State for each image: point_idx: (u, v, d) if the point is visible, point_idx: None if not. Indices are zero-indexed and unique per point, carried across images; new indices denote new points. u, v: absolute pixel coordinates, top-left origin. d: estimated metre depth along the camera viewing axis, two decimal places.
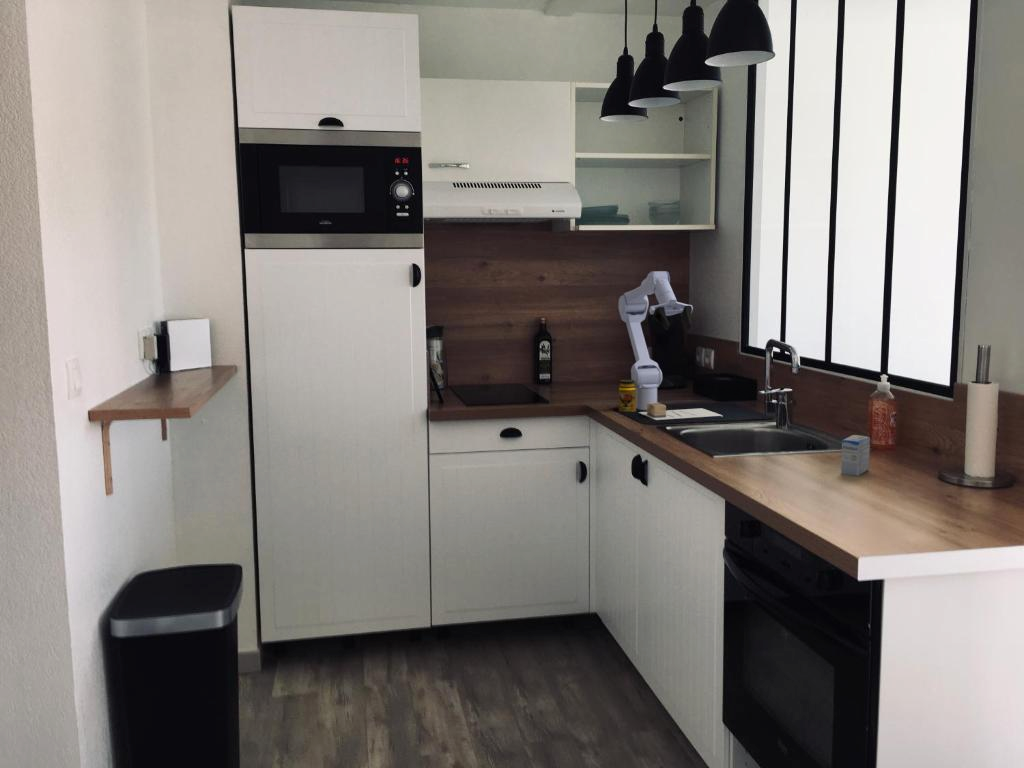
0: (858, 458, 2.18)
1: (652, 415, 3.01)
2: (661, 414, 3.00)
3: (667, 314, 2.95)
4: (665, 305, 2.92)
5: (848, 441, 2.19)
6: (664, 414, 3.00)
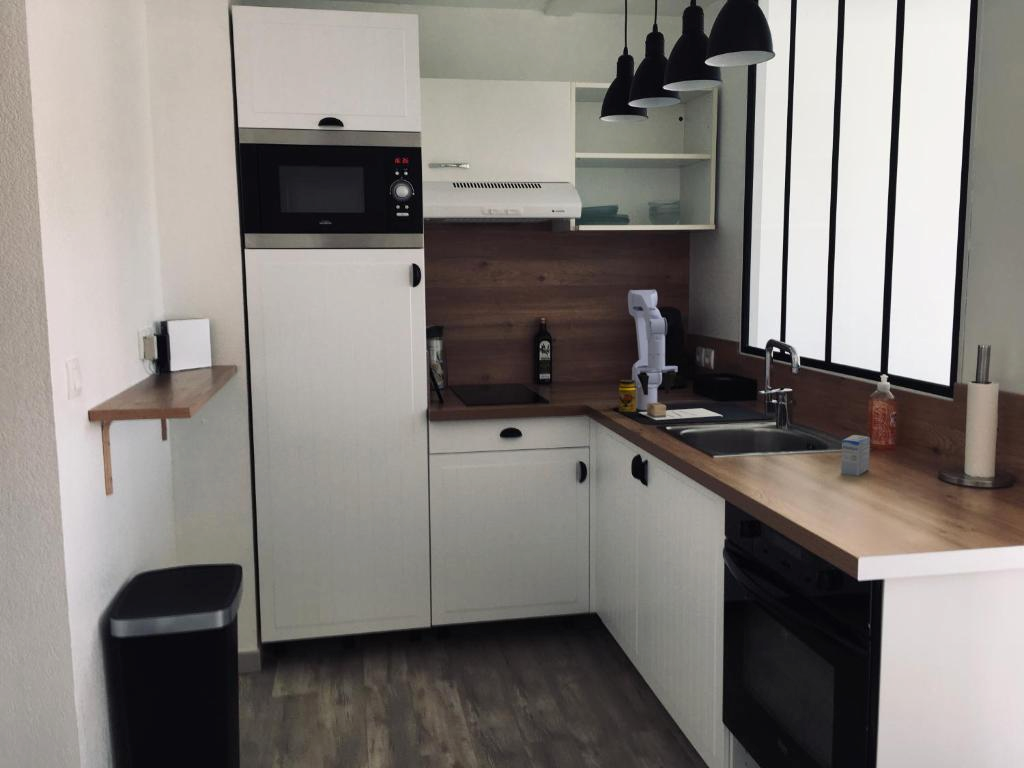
0: (858, 458, 2.18)
1: (652, 415, 3.01)
2: (661, 414, 3.00)
3: None
4: None
5: (849, 441, 2.19)
6: (664, 414, 3.00)
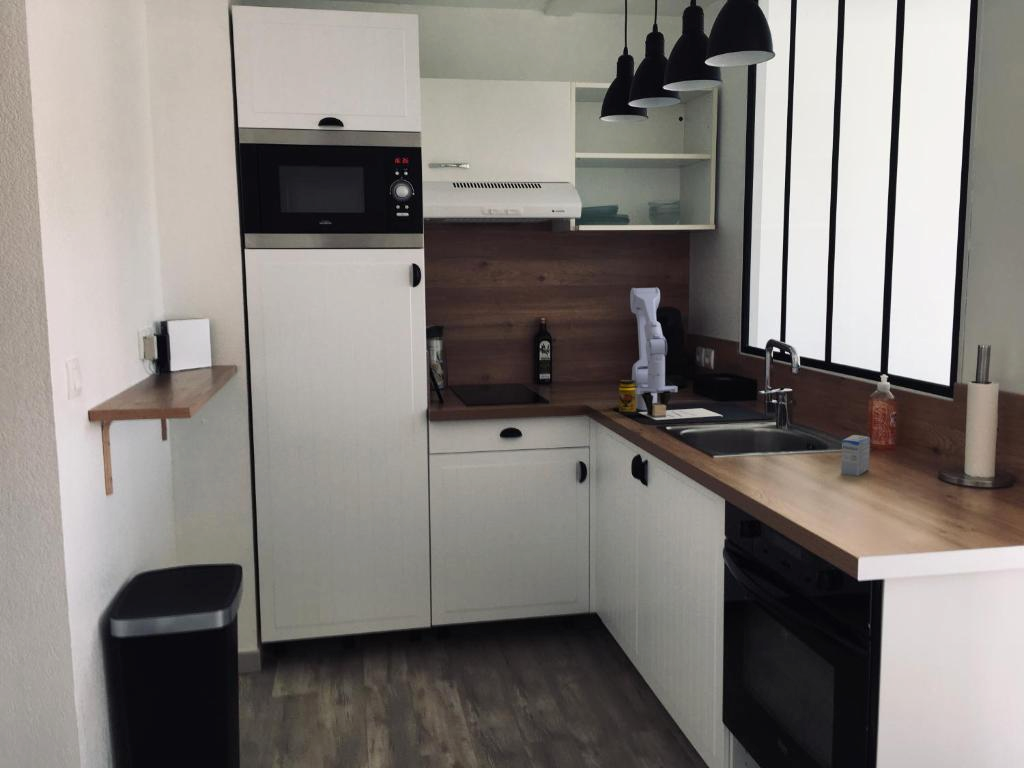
0: (858, 458, 2.18)
1: (652, 415, 3.01)
2: (661, 414, 3.00)
3: None
4: (651, 390, 3.00)
5: (849, 441, 2.19)
6: (664, 414, 3.00)
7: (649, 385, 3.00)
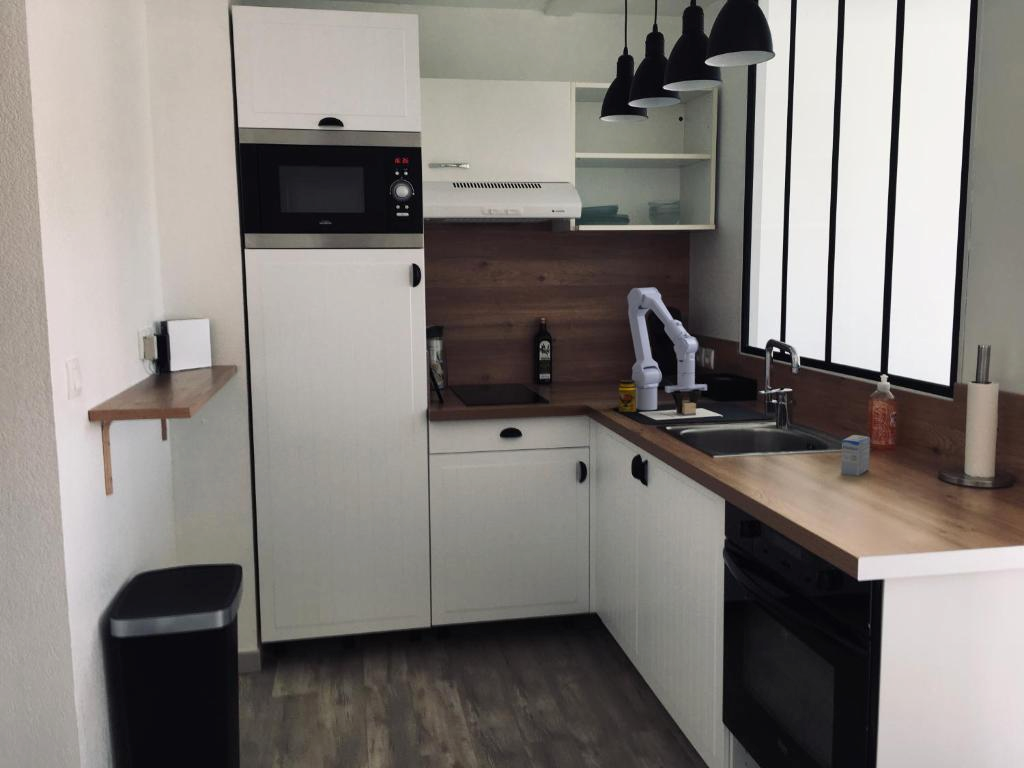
0: (858, 458, 2.18)
1: (682, 413, 3.04)
2: (691, 412, 3.02)
3: None
4: (681, 388, 3.02)
5: (849, 441, 2.19)
6: (694, 412, 3.02)
7: (679, 383, 3.03)
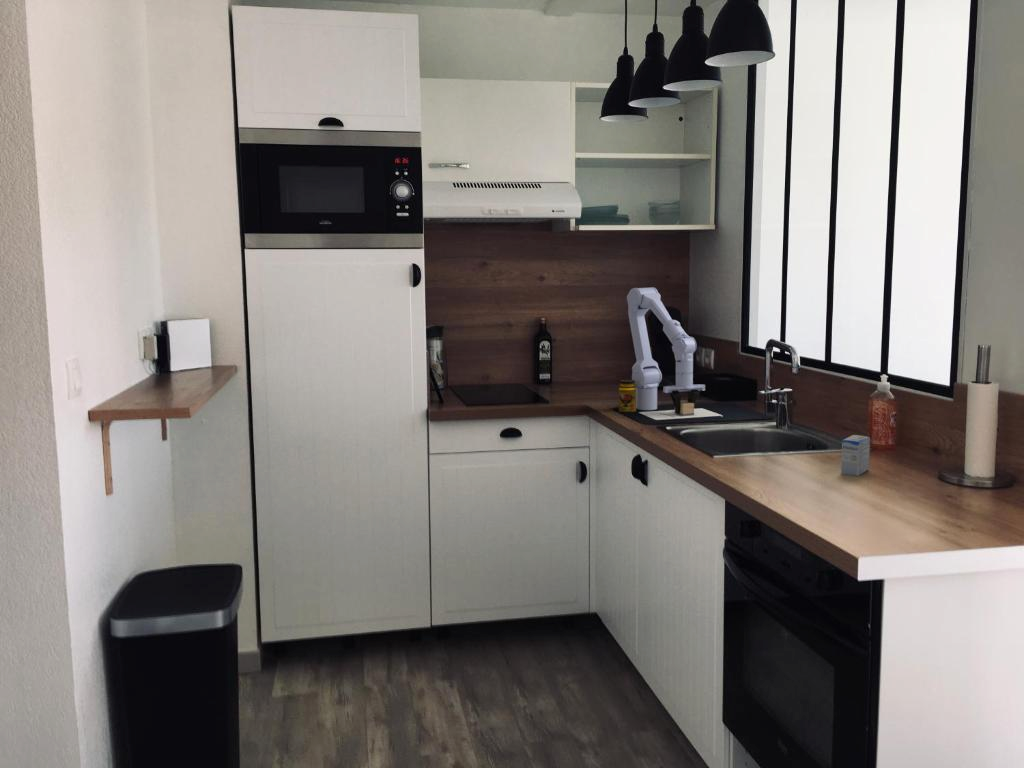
0: (858, 458, 2.18)
1: (680, 413, 3.04)
2: (689, 412, 3.02)
3: None
4: (679, 389, 3.02)
5: (849, 441, 2.19)
6: (692, 412, 3.02)
7: (677, 383, 3.03)
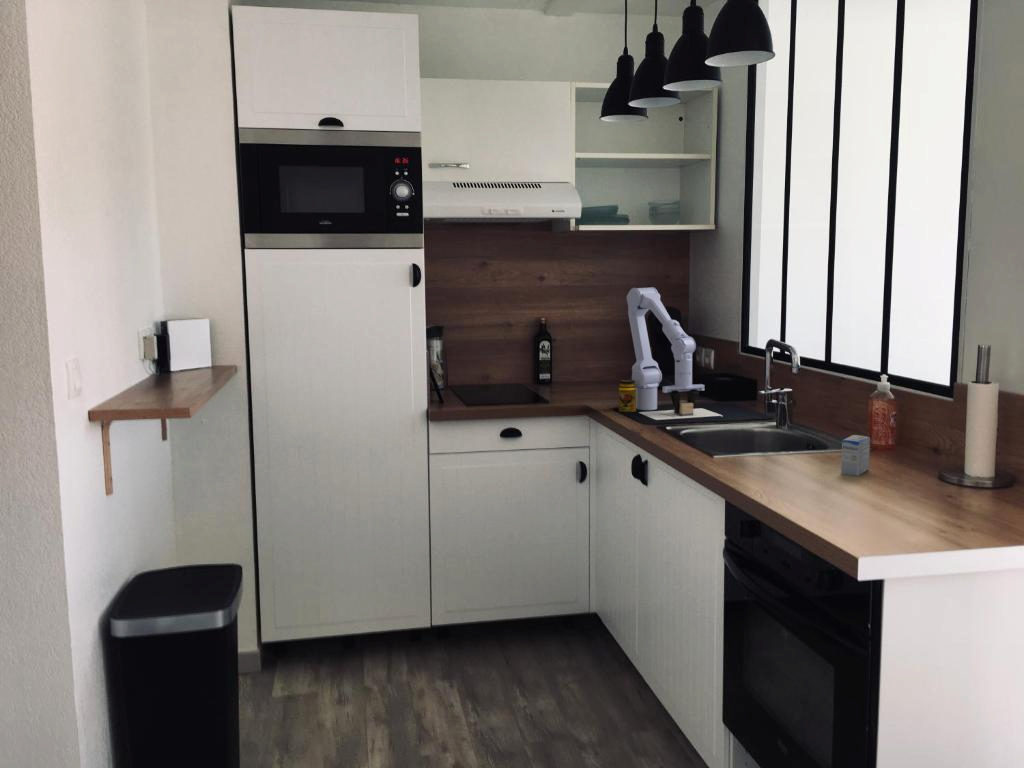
0: (858, 458, 2.18)
1: (679, 413, 3.03)
2: (688, 412, 3.02)
3: None
4: (678, 389, 3.02)
5: (849, 441, 2.19)
6: (691, 412, 3.02)
7: (676, 383, 3.03)
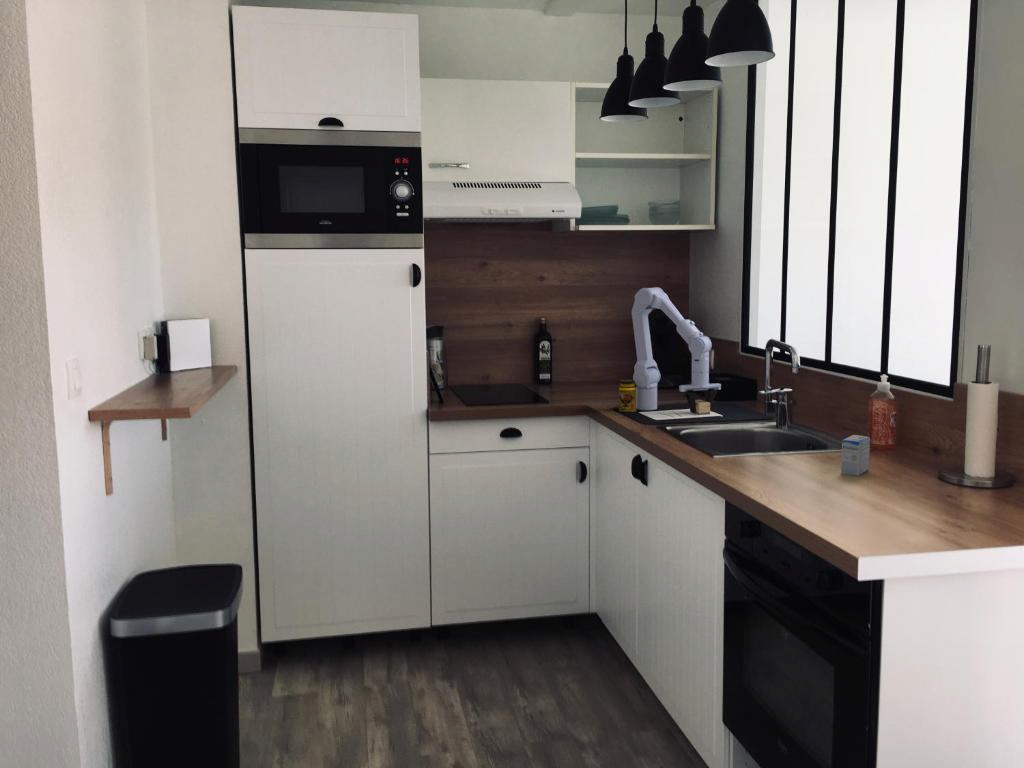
0: (858, 458, 2.18)
1: (696, 412, 3.05)
2: (705, 411, 3.03)
3: None
4: (695, 388, 3.03)
5: (849, 441, 2.19)
6: (708, 411, 3.04)
7: (693, 383, 3.04)
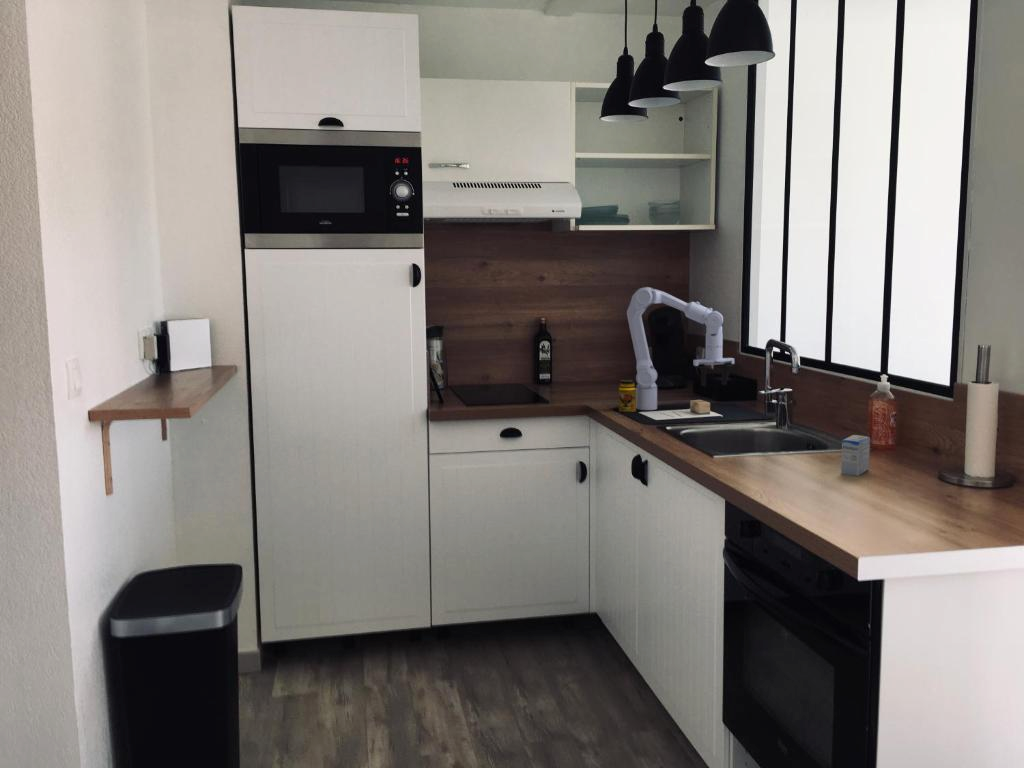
0: (858, 458, 2.18)
1: (696, 412, 3.05)
2: (705, 411, 3.03)
3: None
4: (709, 362, 3.08)
5: (849, 441, 2.19)
6: (708, 411, 3.04)
7: (707, 357, 3.08)
